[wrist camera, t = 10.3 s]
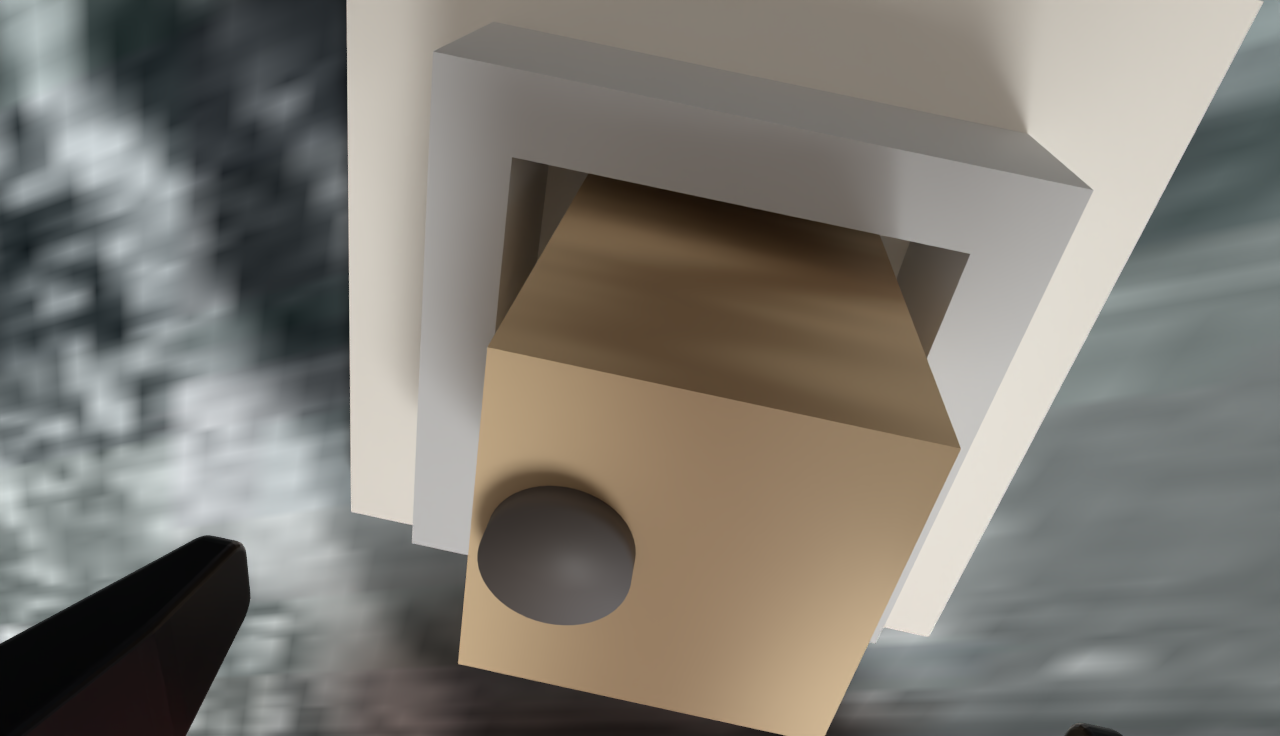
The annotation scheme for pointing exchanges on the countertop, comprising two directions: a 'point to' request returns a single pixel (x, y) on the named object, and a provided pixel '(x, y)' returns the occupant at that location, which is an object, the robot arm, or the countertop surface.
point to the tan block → (699, 460)
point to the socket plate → (761, 193)
